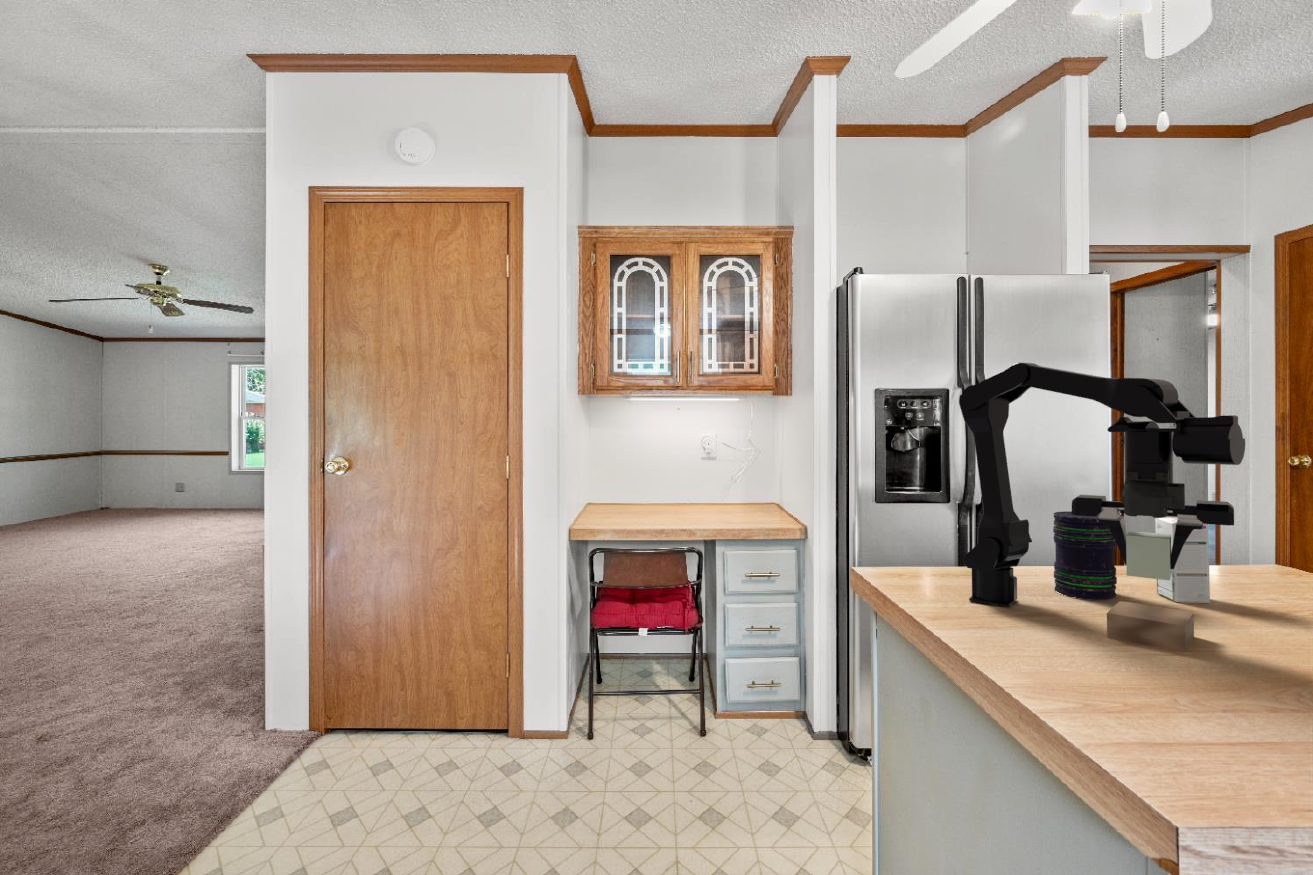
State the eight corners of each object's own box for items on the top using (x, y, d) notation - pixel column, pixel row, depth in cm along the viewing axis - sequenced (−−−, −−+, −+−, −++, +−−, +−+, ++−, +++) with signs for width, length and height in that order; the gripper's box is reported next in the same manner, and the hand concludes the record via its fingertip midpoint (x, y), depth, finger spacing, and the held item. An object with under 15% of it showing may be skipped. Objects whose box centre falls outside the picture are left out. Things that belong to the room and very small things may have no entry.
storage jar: (1130, 600, 113) (1129, 518, 113) (1075, 601, 113) (1074, 518, 113) (1092, 586, 123) (1091, 510, 123) (1042, 587, 123) (1041, 511, 123)
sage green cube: (1126, 575, 93) (1126, 535, 93) (1129, 569, 97) (1129, 531, 97) (1169, 580, 90) (1169, 538, 90) (1171, 574, 93) (1171, 534, 93)
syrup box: (1211, 603, 110) (1211, 521, 109) (1173, 602, 111) (1172, 521, 111) (1191, 595, 115) (1190, 517, 115) (1154, 594, 116) (1153, 516, 116)
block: (1107, 639, 93) (1106, 612, 93) (1120, 625, 100) (1120, 600, 100) (1185, 654, 87) (1184, 625, 87) (1194, 638, 93) (1193, 612, 93)
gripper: (1065, 463, 93) (1066, 567, 93) (1235, 467, 81) (1235, 587, 81) (1076, 460, 101) (1077, 555, 102) (1232, 462, 89) (1233, 571, 89)
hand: (1148, 566), depth 93 cm, fingers closed on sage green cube, 5 cm apart
